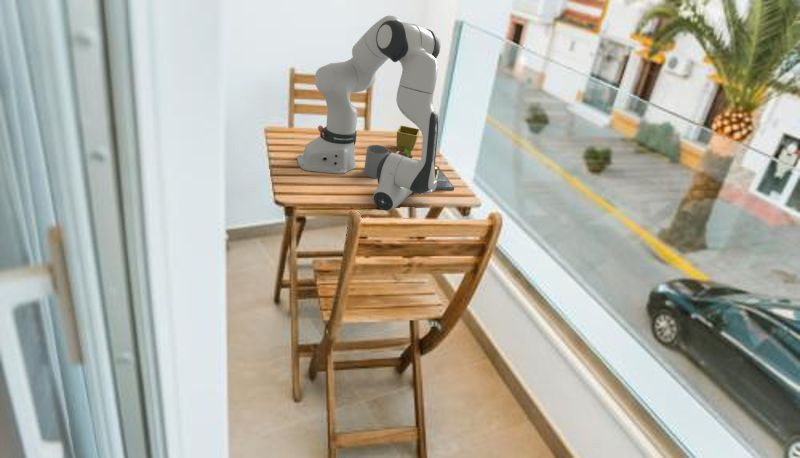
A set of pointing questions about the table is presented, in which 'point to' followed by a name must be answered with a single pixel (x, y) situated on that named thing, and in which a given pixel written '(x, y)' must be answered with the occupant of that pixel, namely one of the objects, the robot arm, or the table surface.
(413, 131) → the flower pot
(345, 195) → the table surface
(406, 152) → the geometric puzzle
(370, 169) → the cup
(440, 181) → the carrier
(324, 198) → the table surface
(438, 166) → the sun gear
